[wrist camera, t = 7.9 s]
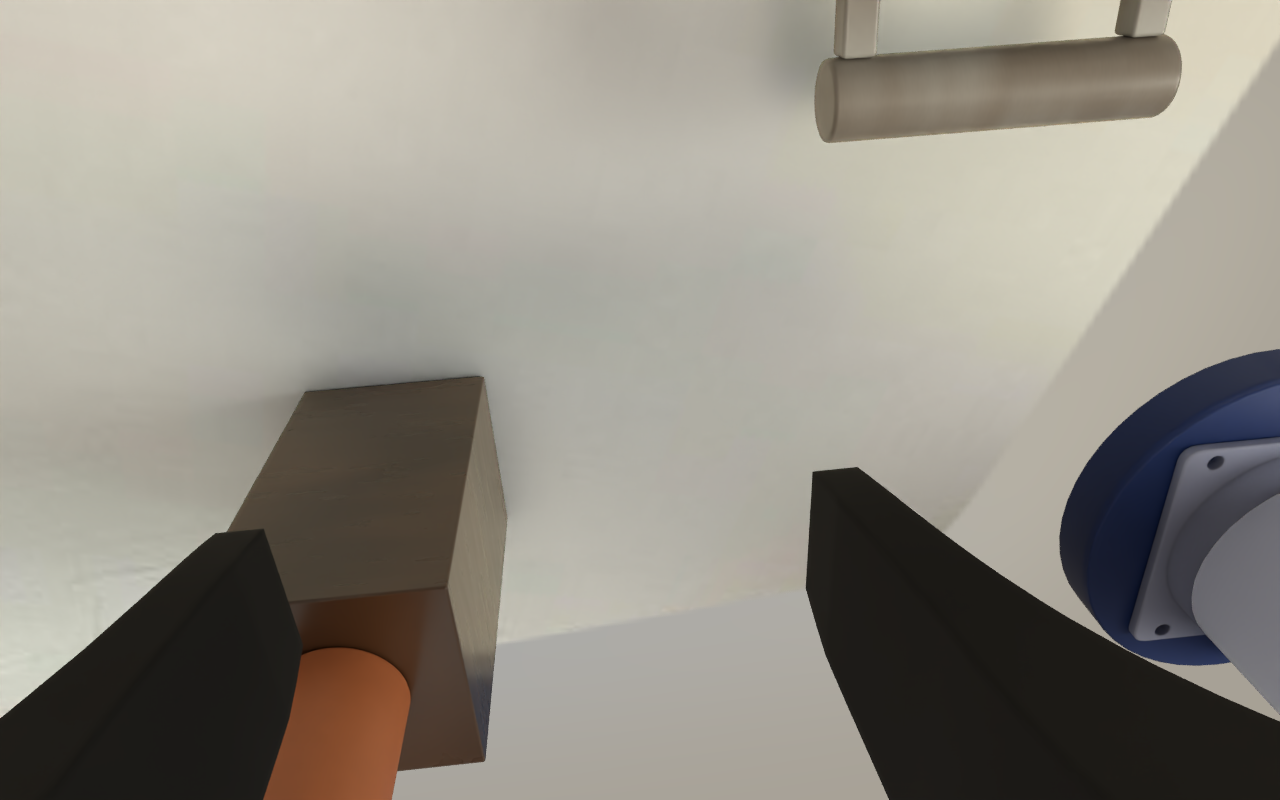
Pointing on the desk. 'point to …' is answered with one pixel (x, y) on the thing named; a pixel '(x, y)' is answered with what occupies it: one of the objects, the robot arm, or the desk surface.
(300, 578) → the stand
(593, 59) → the desk surface
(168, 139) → the desk surface
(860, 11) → the drawer
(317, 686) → the peg
